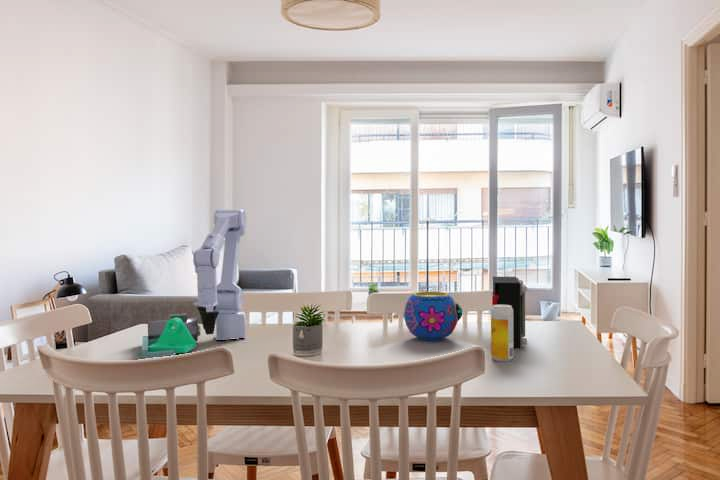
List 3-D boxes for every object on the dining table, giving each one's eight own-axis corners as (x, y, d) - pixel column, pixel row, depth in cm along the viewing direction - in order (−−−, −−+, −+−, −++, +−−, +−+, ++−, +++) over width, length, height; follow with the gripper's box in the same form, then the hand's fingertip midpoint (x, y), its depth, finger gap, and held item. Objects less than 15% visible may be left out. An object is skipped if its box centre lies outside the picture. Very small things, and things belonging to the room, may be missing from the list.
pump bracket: (171, 346, 180) (171, 333, 179) (174, 361, 160) (173, 347, 160) (143, 348, 177) (142, 336, 176) (142, 364, 157) (141, 350, 157)
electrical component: (527, 349, 168) (527, 283, 168) (492, 348, 171) (492, 282, 170) (522, 337, 186) (522, 276, 185) (491, 336, 188) (490, 276, 187)
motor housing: (199, 339, 189) (198, 311, 189) (201, 344, 182) (200, 315, 181) (148, 343, 184) (147, 314, 183) (148, 348, 176) (147, 318, 176)
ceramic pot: (468, 342, 179) (468, 295, 178) (417, 347, 173) (416, 298, 173) (444, 332, 195) (443, 289, 195) (396, 336, 190) (395, 291, 189)
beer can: (497, 355, 162) (496, 303, 161) (517, 358, 158) (516, 305, 157) (487, 359, 157) (487, 306, 156) (507, 363, 153) (507, 308, 152)
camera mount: (147, 356, 168) (146, 321, 168) (159, 349, 176) (158, 317, 175) (185, 356, 167) (184, 322, 166) (195, 350, 174) (195, 317, 174)
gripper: (192, 285, 178) (193, 328, 179) (195, 291, 164) (196, 337, 165) (214, 284, 180) (216, 326, 181) (220, 290, 167) (221, 335, 168)
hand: (208, 331), depth 173 cm, fingers open, 7 cm apart
